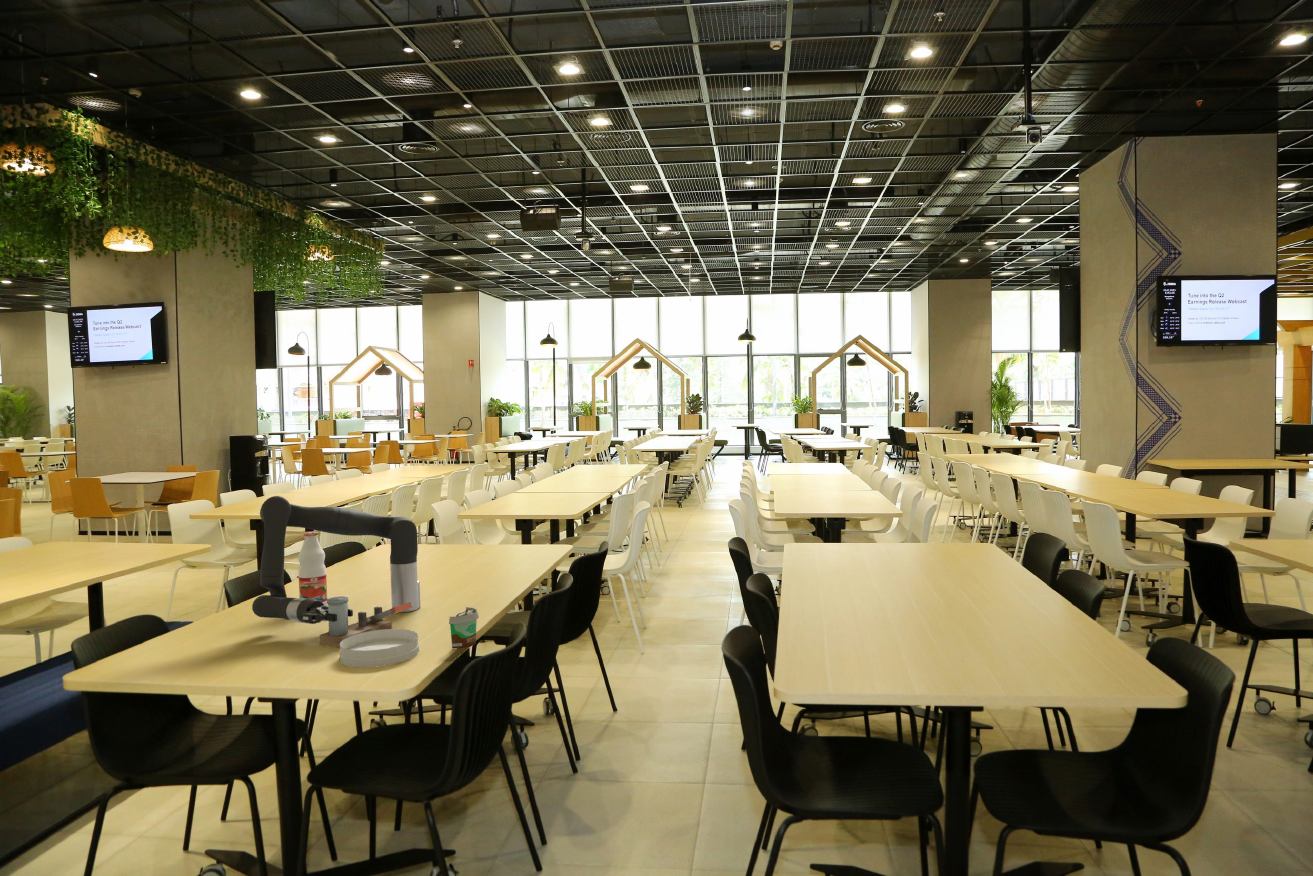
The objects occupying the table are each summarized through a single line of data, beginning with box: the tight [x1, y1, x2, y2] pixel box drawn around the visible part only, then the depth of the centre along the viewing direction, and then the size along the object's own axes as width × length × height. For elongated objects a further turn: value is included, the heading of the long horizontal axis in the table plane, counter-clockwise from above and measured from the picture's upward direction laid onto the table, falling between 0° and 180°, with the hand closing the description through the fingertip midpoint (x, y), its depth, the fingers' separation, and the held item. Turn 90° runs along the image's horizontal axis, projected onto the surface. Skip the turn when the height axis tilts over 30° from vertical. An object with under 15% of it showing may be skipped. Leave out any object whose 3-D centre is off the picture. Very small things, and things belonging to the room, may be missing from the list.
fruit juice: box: [297, 530, 328, 605], centre depth 293 cm, size 9×9×28 cm
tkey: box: [367, 602, 412, 624], centre depth 255 cm, size 7×2×16 cm
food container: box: [448, 607, 480, 650], centre depth 242 cm, size 12×6×10 cm, turn 168°
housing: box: [319, 606, 393, 648], centre depth 253 cm, size 20×10×7 cm, turn 154°
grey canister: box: [327, 595, 349, 637], centre depth 246 cm, size 6×6×11 cm
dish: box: [339, 628, 420, 668], centre depth 234 cm, size 22×22×5 cm
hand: (343, 615), depth 245 cm, fingers closed on grey canister, 5 cm apart
